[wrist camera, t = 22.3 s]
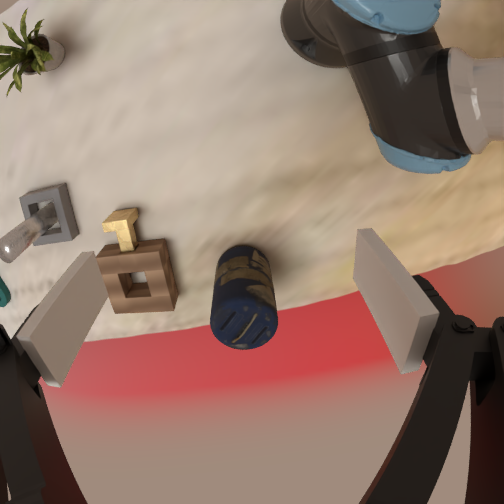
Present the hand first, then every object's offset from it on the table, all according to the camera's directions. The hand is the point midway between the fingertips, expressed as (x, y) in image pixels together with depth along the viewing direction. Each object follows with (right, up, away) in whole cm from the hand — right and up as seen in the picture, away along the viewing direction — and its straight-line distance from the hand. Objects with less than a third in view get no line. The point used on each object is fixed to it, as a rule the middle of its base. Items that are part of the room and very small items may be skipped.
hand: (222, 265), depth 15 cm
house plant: (-34, +33, +22) cm, 52 cm away
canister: (0, -2, +42) cm, 42 cm away
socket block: (-19, -3, +41) cm, 46 cm away
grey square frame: (-36, +8, +35) cm, 51 cm away
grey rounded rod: (-36, +8, +35) cm, 51 cm away
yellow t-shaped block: (-20, +4, +38) cm, 43 cm away
